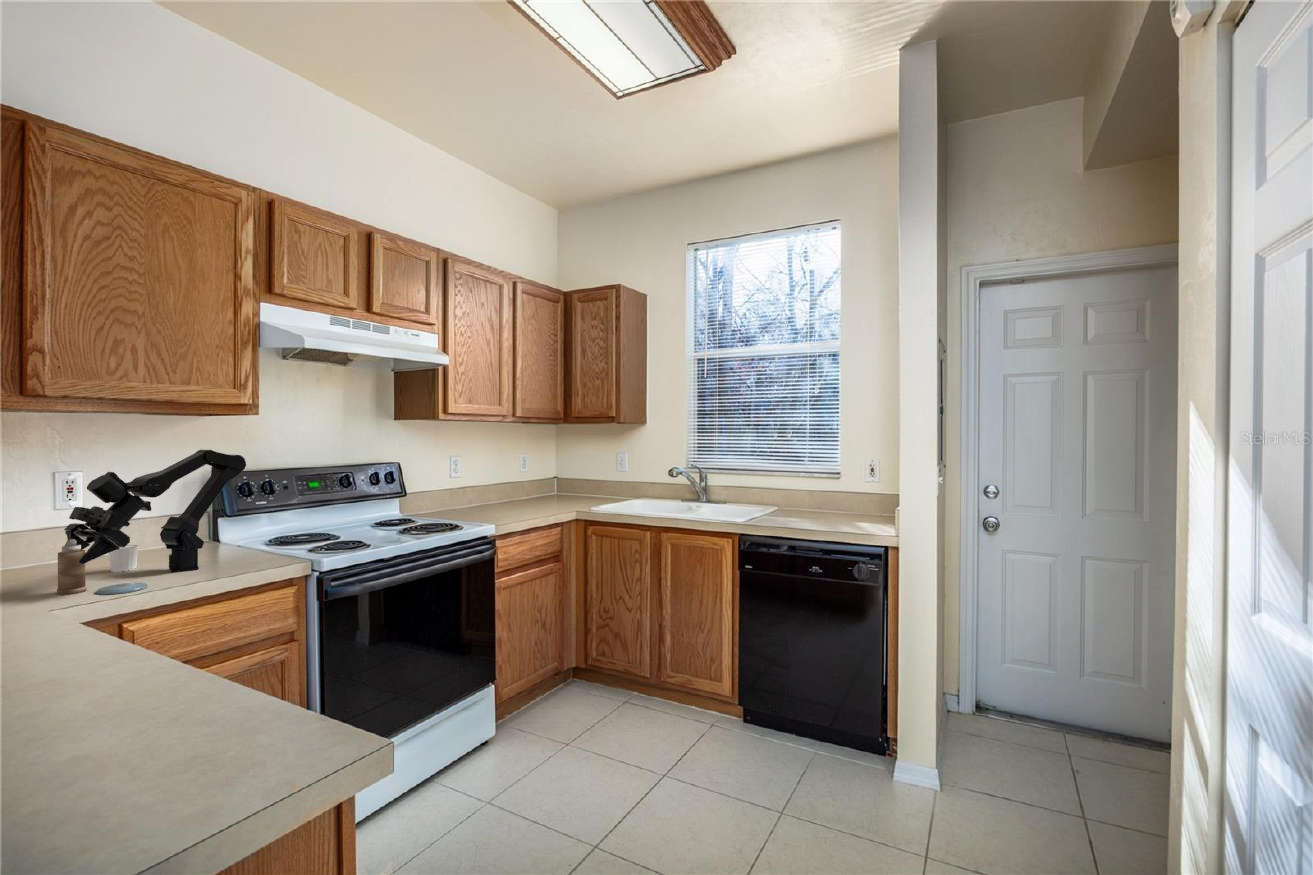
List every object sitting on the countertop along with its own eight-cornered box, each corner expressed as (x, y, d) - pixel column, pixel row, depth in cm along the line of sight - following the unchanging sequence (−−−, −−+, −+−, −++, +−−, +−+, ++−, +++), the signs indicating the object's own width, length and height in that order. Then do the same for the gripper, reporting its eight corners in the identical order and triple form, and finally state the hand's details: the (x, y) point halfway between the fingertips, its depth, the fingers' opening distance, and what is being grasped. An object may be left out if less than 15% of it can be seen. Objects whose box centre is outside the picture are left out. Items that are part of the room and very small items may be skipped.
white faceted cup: (103, 571, 183) (103, 547, 183) (132, 566, 189) (132, 543, 189) (114, 573, 180) (114, 549, 180) (143, 569, 186) (143, 545, 186)
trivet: (146, 583, 170) (146, 580, 170) (147, 590, 162) (147, 588, 162) (97, 588, 163) (97, 586, 163) (96, 596, 156) (96, 594, 156)
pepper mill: (87, 588, 164) (86, 536, 164) (85, 592, 160) (85, 539, 159) (57, 591, 160) (57, 538, 160) (55, 596, 156) (55, 541, 156)
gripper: (73, 493, 168) (20, 540, 157) (116, 496, 161) (63, 546, 151) (107, 518, 175) (58, 565, 165) (150, 522, 168) (102, 571, 158)
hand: (69, 561), depth 159 cm, fingers open, 9 cm apart
